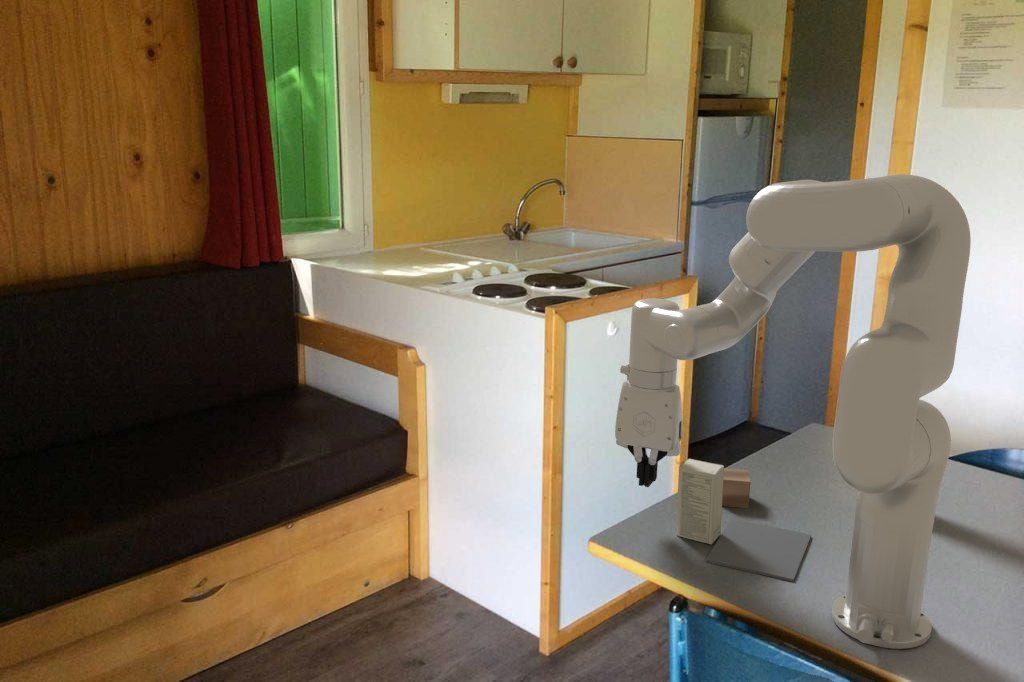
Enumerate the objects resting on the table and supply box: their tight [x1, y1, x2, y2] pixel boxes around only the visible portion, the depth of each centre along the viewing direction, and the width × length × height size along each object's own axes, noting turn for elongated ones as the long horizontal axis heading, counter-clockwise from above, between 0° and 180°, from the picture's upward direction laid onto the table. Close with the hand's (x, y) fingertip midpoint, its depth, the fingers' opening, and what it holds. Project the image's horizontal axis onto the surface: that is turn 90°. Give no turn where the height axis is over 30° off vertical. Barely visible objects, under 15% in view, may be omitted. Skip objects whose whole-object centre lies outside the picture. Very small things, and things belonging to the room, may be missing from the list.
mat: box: [705, 518, 812, 583], centre depth 146 cm, size 16×13×1 cm
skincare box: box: [676, 458, 725, 545], centre depth 148 cm, size 6×4×12 cm
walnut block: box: [722, 468, 751, 509], centre depth 162 cm, size 5×5×5 cm
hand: (646, 483), depth 152 cm, fingers closed
